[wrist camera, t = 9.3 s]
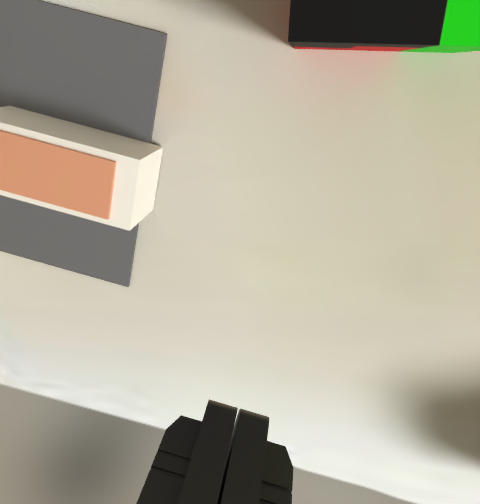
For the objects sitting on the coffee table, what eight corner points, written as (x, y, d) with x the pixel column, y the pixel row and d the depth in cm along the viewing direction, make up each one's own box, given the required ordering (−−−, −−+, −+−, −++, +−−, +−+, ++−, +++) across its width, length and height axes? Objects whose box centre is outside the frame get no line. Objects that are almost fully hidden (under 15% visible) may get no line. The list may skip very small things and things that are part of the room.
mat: (0, -10, 31) (-3, -11, 31) (167, 33, 30) (166, 33, 30) (-3, 248, 39) (-5, 249, 39) (129, 285, 39) (127, 287, 38)
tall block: (163, 146, 33) (10, 105, 34) (138, 160, 28) (-41, 112, 29) (153, 209, 35) (9, 169, 36) (128, 232, 30) (-39, 186, 31)
